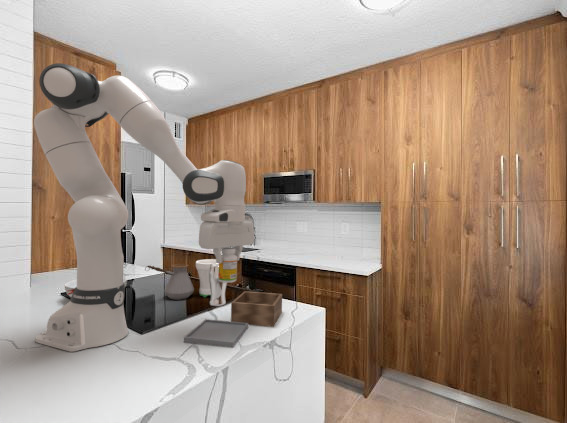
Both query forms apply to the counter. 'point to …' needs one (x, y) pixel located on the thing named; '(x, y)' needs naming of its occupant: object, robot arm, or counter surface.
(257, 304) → the walnut box
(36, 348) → the counter surface
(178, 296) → the coffee pot
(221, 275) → the supplement bottle
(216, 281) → the beer glass
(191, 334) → the grey tray
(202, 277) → the cup
